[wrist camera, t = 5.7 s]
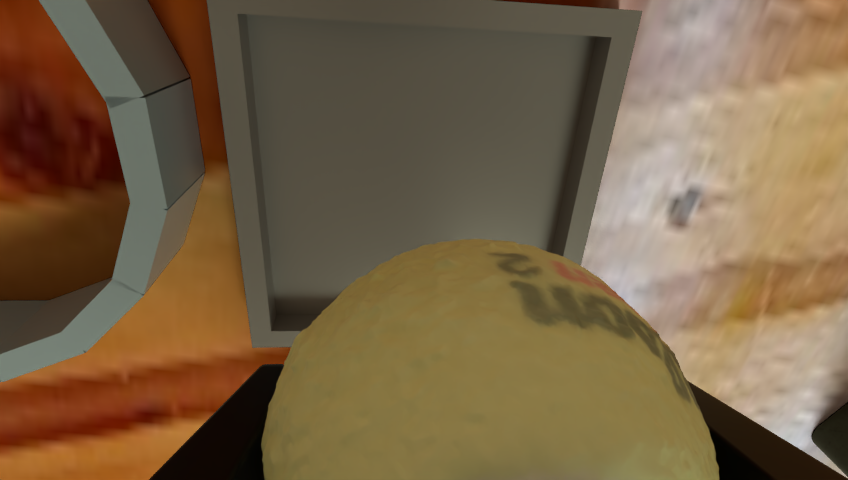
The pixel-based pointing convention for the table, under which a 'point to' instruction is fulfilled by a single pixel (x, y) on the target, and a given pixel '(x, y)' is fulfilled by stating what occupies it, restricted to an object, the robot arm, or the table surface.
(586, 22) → the tray
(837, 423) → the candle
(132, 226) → the gray open ring
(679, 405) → the tennis ball
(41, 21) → the table surface
